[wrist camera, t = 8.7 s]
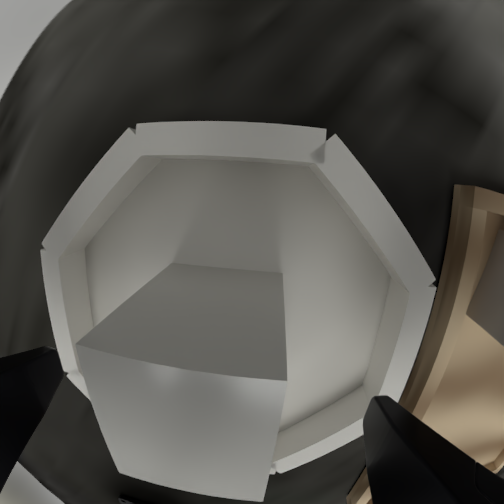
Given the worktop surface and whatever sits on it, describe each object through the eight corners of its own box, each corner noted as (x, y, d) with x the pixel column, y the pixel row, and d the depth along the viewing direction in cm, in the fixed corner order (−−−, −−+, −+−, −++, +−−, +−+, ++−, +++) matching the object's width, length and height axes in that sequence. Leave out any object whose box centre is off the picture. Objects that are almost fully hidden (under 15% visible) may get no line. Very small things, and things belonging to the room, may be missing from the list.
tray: (491, 462, 13) (497, 472, 12) (346, 497, 14) (348, 513, 13) (590, 230, 9) (604, 234, 7) (454, 184, 10) (474, 185, 8)
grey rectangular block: (270, 376, 11) (263, 501, 6) (175, 364, 12) (119, 472, 6) (282, 273, 10) (287, 380, 4) (171, 263, 11) (75, 343, 5)
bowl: (354, 439, 13) (361, 472, 10) (104, 406, 14) (85, 432, 11) (421, 159, 9) (454, 155, 7) (76, 141, 10) (41, 136, 8)
